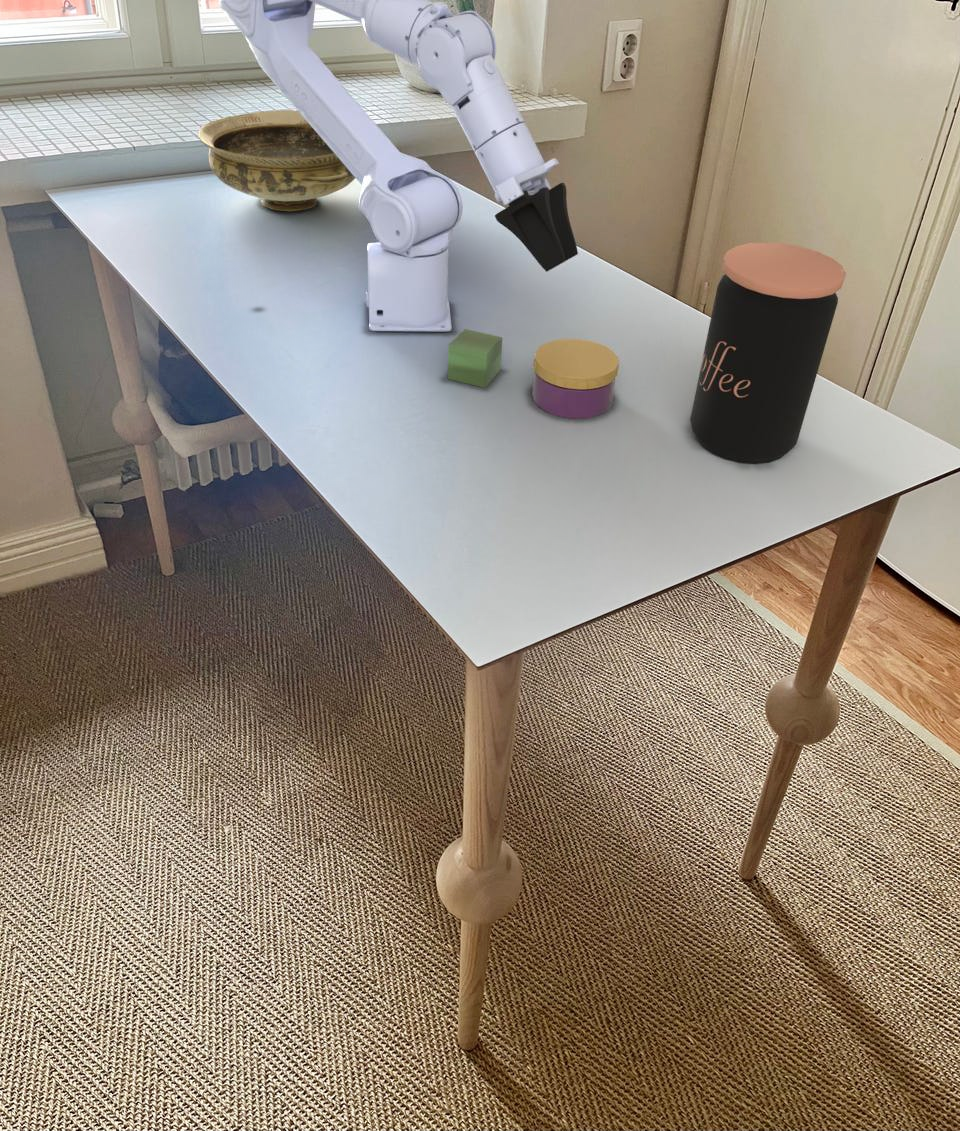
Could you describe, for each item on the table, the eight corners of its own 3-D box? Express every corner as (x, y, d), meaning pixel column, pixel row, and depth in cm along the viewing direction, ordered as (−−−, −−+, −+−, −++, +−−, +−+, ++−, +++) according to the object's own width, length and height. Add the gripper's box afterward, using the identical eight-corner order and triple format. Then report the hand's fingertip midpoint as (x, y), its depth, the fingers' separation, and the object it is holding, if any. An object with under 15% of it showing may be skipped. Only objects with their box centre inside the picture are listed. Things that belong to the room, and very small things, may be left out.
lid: (538, 389, 97) (539, 378, 96) (529, 349, 103) (530, 338, 103) (624, 390, 97) (626, 378, 97) (609, 350, 104) (611, 338, 103)
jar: (537, 418, 99) (540, 381, 96) (528, 378, 105) (531, 343, 103) (618, 418, 100) (624, 382, 97) (604, 379, 106) (609, 343, 103)
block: (485, 388, 103) (487, 354, 101) (447, 379, 105) (448, 344, 102) (500, 370, 107) (502, 337, 104) (463, 362, 108) (464, 328, 105)
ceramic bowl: (412, 220, 141) (412, 148, 134) (259, 251, 130) (251, 173, 123) (315, 162, 159) (310, 96, 153) (174, 184, 148) (163, 114, 142)
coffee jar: (676, 411, 101) (709, 241, 90) (775, 411, 102) (821, 242, 91) (703, 468, 93) (743, 288, 82) (811, 467, 94) (865, 289, 83)
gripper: (517, 113, 89) (585, 249, 92) (548, 117, 102) (607, 237, 105) (454, 154, 92) (522, 285, 95) (491, 154, 105) (550, 269, 108)
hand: (562, 262), depth 100 cm, fingers open, 7 cm apart
